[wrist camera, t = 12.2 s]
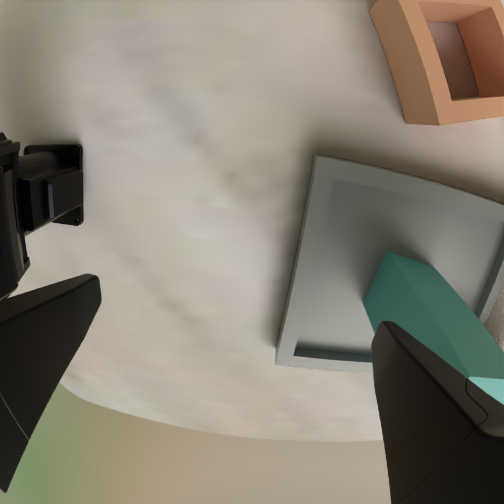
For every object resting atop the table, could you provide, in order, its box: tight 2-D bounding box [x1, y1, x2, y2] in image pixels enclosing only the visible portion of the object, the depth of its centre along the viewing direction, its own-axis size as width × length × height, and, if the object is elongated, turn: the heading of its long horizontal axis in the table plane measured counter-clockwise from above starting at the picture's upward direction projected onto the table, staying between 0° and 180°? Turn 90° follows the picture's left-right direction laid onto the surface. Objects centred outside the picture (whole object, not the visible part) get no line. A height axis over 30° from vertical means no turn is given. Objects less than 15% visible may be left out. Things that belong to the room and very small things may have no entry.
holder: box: [368, 0, 504, 126], centre depth 13 cm, size 8×8×5 cm
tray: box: [275, 154, 504, 373], centre depth 21 cm, size 18×16×2 cm
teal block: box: [363, 251, 504, 404], centre depth 16 cm, size 4×4×12 cm
